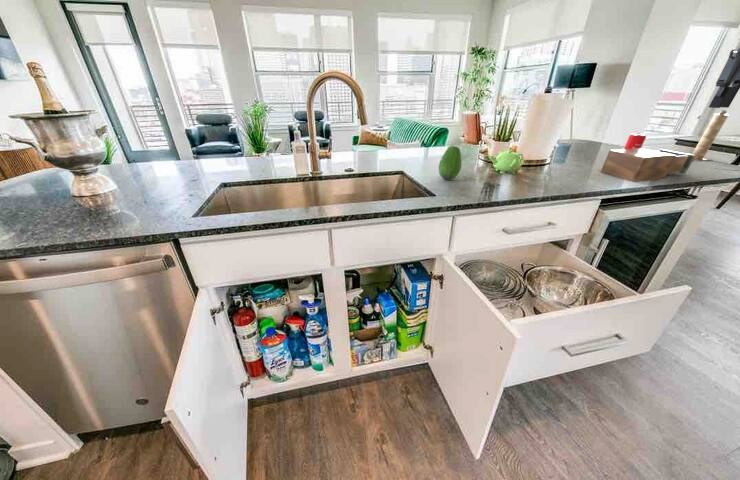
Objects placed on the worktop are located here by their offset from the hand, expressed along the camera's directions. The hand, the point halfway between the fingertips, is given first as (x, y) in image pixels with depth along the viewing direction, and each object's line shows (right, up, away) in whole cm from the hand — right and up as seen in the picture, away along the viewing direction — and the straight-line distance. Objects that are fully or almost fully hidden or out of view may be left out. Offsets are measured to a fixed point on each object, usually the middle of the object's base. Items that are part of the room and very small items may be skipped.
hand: (718, 107), depth 97 cm
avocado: (-95, -25, +4) cm, 98 cm away
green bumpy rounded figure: (-71, -20, +12) cm, 75 cm away
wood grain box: (-25, -23, +6) cm, 34 cm away
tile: (+23, -11, +26) cm, 37 cm away
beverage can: (-14, -15, +21) cm, 29 cm away
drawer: (-12, -20, +8) cm, 25 cm away
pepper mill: (+23, -10, +26) cm, 36 cm away
